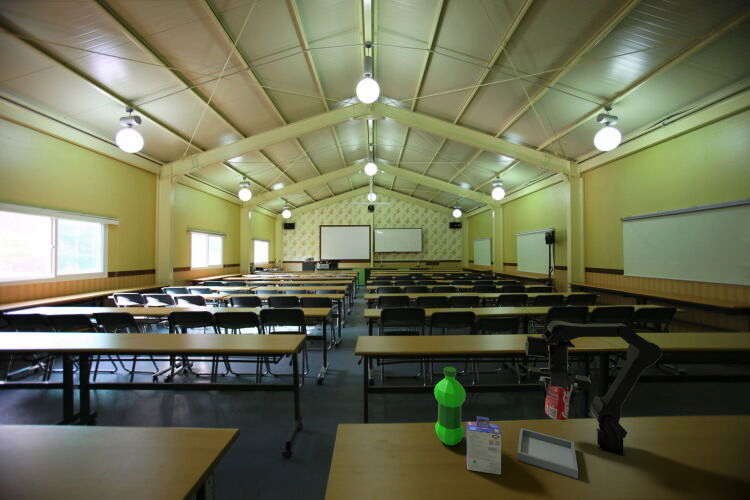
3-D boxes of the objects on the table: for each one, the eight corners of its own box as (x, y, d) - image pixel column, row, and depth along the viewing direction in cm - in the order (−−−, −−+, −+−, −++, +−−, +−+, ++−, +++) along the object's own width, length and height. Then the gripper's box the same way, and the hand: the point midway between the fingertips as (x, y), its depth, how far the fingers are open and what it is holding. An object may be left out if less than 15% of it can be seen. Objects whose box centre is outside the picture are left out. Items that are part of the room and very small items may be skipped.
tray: (573, 449, 101) (573, 441, 101) (578, 479, 88) (578, 470, 88) (520, 434, 109) (520, 427, 109) (517, 460, 96) (517, 452, 96)
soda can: (566, 414, 108) (569, 381, 108) (569, 425, 102) (572, 390, 101) (543, 408, 111) (546, 376, 111) (545, 418, 105) (548, 384, 104)
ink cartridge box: (498, 462, 95) (498, 416, 95) (502, 475, 89) (502, 427, 89) (465, 458, 97) (466, 413, 97) (467, 470, 91) (467, 423, 91)
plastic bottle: (430, 444, 103) (430, 371, 103) (440, 428, 112) (441, 361, 112) (459, 454, 98) (460, 378, 98) (468, 437, 107) (468, 367, 107)
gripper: (527, 360, 104) (526, 405, 104) (594, 371, 94) (593, 421, 95) (528, 350, 113) (528, 392, 114) (589, 360, 104) (589, 405, 104)
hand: (557, 402), depth 106 cm, fingers closed on soda can, 7 cm apart
